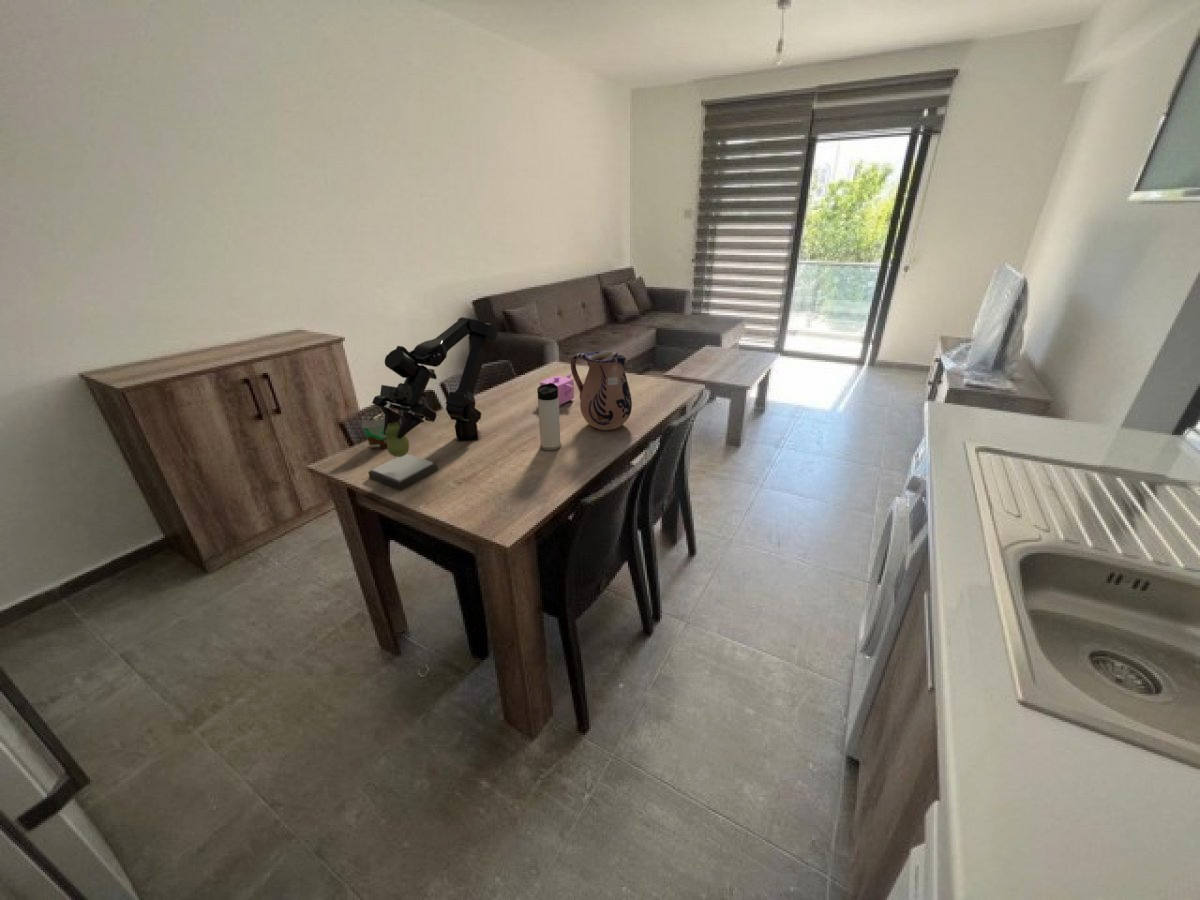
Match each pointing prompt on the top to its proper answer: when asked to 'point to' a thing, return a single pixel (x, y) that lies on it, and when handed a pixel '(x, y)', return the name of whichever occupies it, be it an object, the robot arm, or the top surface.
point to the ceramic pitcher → (603, 389)
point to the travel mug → (549, 416)
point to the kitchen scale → (402, 471)
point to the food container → (376, 431)
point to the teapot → (562, 387)
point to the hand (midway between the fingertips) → (391, 436)
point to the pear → (396, 441)
